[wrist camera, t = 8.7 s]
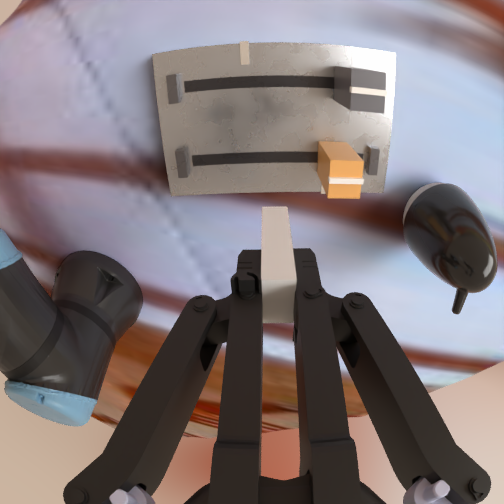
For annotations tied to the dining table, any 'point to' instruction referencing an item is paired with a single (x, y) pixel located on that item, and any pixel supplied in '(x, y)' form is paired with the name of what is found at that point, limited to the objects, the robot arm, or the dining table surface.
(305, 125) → the console
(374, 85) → the fader graphite
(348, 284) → the dining table surface
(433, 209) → the pump dispenser
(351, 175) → the fader orange
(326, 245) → the dining table surface
